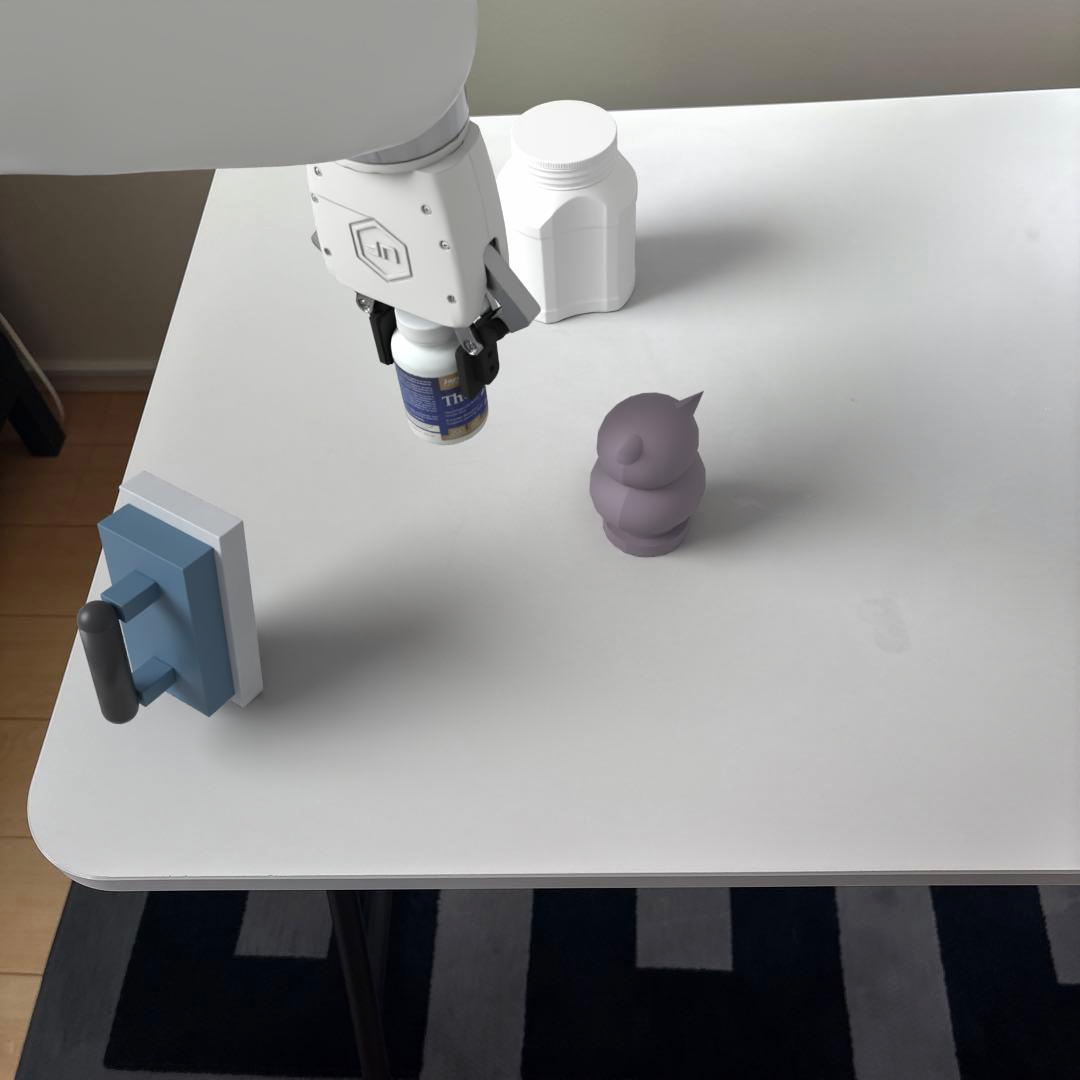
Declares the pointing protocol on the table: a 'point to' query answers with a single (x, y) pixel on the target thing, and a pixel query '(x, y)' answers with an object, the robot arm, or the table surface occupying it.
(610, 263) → the jar
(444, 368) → the pill bottle
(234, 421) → the table surface
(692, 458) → the mauve rounded figurine
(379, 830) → the table surface
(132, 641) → the scrub brush
